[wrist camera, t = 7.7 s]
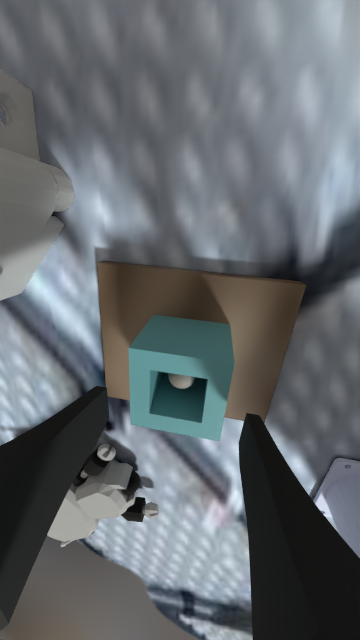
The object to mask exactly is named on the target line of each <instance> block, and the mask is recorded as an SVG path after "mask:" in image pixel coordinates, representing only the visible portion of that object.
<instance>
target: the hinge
mask: <svg viewBox="0 0 360 640" xmlns="http://www.w3.org/2000/svg"><path fill="white" fill-rule="evenodd" d="M0 106H1V107H2V108H3V111H4V113H5V115H6V124H4V123H3V122H2V120H1V118H0V300H3V299H6V298H9V297H12V296H15V295H18V294H21V293H22V291H23V290H24V288H25V287H26V285H27V284H28V282H29V280H30V279H31V277H32V276H33V274H34V273H35V271H36V269H37V268H38V266H39V265H40V263H41V262H42V260H43V258H44V257H45V255H46V254H47V252H48V250H49V249H50V247H51V246H52V244H53V243H54V241H55V239H56V238H57V236H58V235H59V233H60V232H61V230H62V228H63V227H64V224H63V223H62V222H61V221H60V220H59V219H58V218H57V217H56V216H51V215H52V213H53V211H54V212H57V213H58V212H62V211H65V210H68V209H69V208H70V206H71V204H72V201H73V199H74V191H73V187H72V182H71V180H70V178H69V177H68V176H67V175H66V174H65V173H64V172H63V171H62V170H61V169H60V168H57V167H54V166H52V165H49V164H46V163H43V162H42V161H40V156H39V147H38V139H37V130H36V122H35V113H34V104H33V96H32V91H31V90H30V89H28V88H27V87H26V86H24V85H23V84H21V83H20V82H19V81H17V80H16V79H15V78H13V77H12V76H10V75H9V74H8V73H6V72H5V71H4V70H2V69H1V68H0Z"/></svg>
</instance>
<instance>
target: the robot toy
mask: <svg viewBox="0 0 360 640" xmlns="http://www.w3.org/2000/svg"><path fill="white" fill-rule="evenodd" d="M109 447H110V445H108V444H106V443H105V444H103V445H101V446H98V447H97V449H96V450H95V451H94V452H93V453H92V454H91V455H90V456H89V457H88V458H87V460H86V462H85V465H84V467H82V468H81V470H80V471H79V473H78V475H77V476H76V478H75V480H74V481H73V483H72V485H71V487H70V489H69V490H68V492H67V494H66V496H65V498H64V501H63V503H62V505H61V507H60V509H59V511H58V513H57V515H56V517H55V519H54V521H53V523H52V525H51V527H50V530H49V532H48V534H47V535H48V536H49V537H51V538H54V539H57V540H60V541H63V542H62V544H61V545H60V546H61V547H63V546H66V544H68V543H70V542H72V541H74V540H76V539H81V538H86V537H89V536H90V535H91V534H93V533H94V531H95V530H96V528H97V525H98V523H99V520H100V519H105V518H114V517H119V516H120V515H122V516H123V517H124V518H125V519H126V520H127V521H136V522H142V521H143V517H144V515H145V516H147V517H148V518H150V519H152V518H156V517H157V516H158V513H159V510H158V506H157V504H155V503H152V502H150V503H148V504H146V501H145V498H142V497H136V494H137V490H138V488H139V485H140V476H139V475H138V473H136V472H135V471H132V469H133V467H132V466H130V465H129V464H127V463H119V462H117V461H116V460H115V459H113V458H114V456H115V454H116V450H115V449H114V448H113V447H112V448H111V449H110V450H109Z"/></svg>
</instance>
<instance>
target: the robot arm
mask: <svg viewBox="0 0 360 640" xmlns="http://www.w3.org/2000/svg"><path fill="white" fill-rule="evenodd" d="M108 418H109V409H108V394H107V388H105V387H99V386H96V387H94V388H93V389H91V390H90V391H88V392H87V393H85V394H84V395H83V396H81V397H80V398H78V399H77V400H76V401H74V402H73V403H71V404H70V405H68V406H67V407H65V408H64V409H63V410H61V411H60V412H58V413H57V414H55V415H54V416H52V417H50V418H49V419H47V420H46V421H44V422H42V423H41V424H39V425H38V426H36V427H34V428H33V429H31V430H29V431H27V432H26V433H24V434H22V435H20V436H18V437H17V438H15V439H13V440H11V441H9V442H7V443H5V444H3V445H1V446H0V631H1V630H2V629H3V628H4V627H5V626H7V625H8V623H9V621H10V619H11V617H12V614H13V612H14V609H15V607H16V605H17V602H18V600H19V597H20V595H21V593H22V590H23V588H24V585H25V583H26V581H27V579H28V576H29V574H30V572H31V569H32V567H33V565H34V562H35V560H36V558H37V556H38V554H39V551H40V549H41V547H42V545H43V542H44V540H45V538H46V536H47V534H48V532H49V530H50V527H51V525H52V523H53V521H54V519H55V517H56V515H57V513H58V511H59V509H60V507H61V505H62V503H63V501H64V498H65V496H66V494H67V492H68V490H69V489H70V487H71V485H72V483H73V481H74V480H75V478H76V476H77V475H78V473H79V471H80V470H81V468H82V466H83V465H84V463H85V461H86V460H87V458H88V456H89V455H90V453H91V451H92V450H93V448H94V446H95V445H96V443H97V441H98V439H99V438H100V436H101V434H102V432H103V430H104V427H105V425H106V423H107V421H108ZM239 464H240V473H241V480H242V488H243V496H244V503H245V511H246V518H247V527H248V539H249V557H250V578H251V601H252V631H253V640H360V461H355V460H350V459H344V458H337V459H335V460H334V462H333V463H332V465H331V467H330V469H329V471H328V473H327V475H326V477H325V479H324V481H323V483H322V485H321V486H320V488H319V490H318V492H317V494H316V496H315V498H314V500H312V499H311V498H310V496H309V495H308V494H307V492H306V491H305V489H304V488H303V487H302V485H301V484H300V482H299V481H298V479H297V478H296V476H295V475H294V473H293V472H292V470H291V469H290V467H289V466H288V464H287V462H286V461H285V459H284V457H283V456H282V454H281V453H280V451H279V449H278V448H277V446H276V444H275V442H274V441H273V439H272V437H271V435H270V433H269V432H268V430H267V428H266V426H265V424H264V422H263V420H262V418H261V417H260V415H256V414H250V413H246V417H245V420H244V424H243V428H242V432H241V436H240V440H239ZM325 516H327V517H331V518H333V520H334V523H335V525H336V528H337V531H338V532H337V531H336V530H335V529H334V527H333V526H332V525H331V524H330V522H329V521H328V520H327V519H326V517H325ZM0 640H2V639H0Z"/></svg>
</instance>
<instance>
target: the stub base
mask: <svg viewBox="0 0 360 640" xmlns="http://www.w3.org/2000/svg"><path fill="white" fill-rule="evenodd" d="M97 270H98V284H99V298H100V311H101V325H102V339H103V352H104V366H105V380H106V388H107V394H108V396H109V397H115V398H120V399H126V400H130V382H129V347H130V345H131V344H132V343H133V341H134V340H135V339H136V337H137V336H138V335H139V333H140V332H141V331H142V329H143V328H144V327H145V325H146V324H147V323H148V321H149V320H150V319H151V317H152V316H153V315H161V316H169V317H177V318H185V319H193V320H201V321H209V322H217V323H225V324H230V327H231V336H232V345H233V354H234V362H235V364H234V369H233V374H232V380H231V385H230V390H229V395H228V400H227V405H226V410H225V415H224V417H225V418H231V419H236V420H242V421H244V420H245V417H246V413H250V414H256V415H260V417H261V418H262V420H263V422H265V419H266V416H267V413H268V409H269V406H270V403H271V399H272V396H273V393H274V390H275V386H276V383H277V380H278V376H279V373H280V370H281V367H282V363H283V360H284V357H285V354H286V350H287V347H288V344H289V340H290V337H291V334H292V331H293V327H294V324H295V321H296V317H297V314H298V311H299V308H300V304H301V301H302V298H303V294H304V291H305V288H306V284H304V283H302V282H301V281H291V280H282V279H272V278H263V277H253V276H243V275H234V274H224V273H215V272H205V271H196V270H186V269H176V268H167V267H157V266H148V265H138V264H129V263H119V262H109V261H102V262H98V263H97ZM168 378H169V381H170V382H171V384H172V385H173V386H174V387H176V388H179V389H185V388H188V387H190V386H191V385H192V384H193V383H194V381H195V378H196V377H192V376H185V375H179V374H173V373H168Z"/></svg>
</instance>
